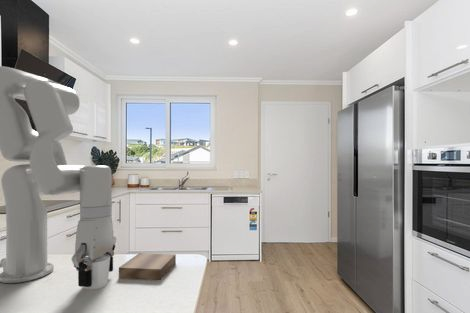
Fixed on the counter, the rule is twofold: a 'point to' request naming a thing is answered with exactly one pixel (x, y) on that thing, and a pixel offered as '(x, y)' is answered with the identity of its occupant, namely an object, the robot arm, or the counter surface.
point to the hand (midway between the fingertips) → (96, 278)
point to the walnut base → (147, 266)
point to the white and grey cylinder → (99, 271)
